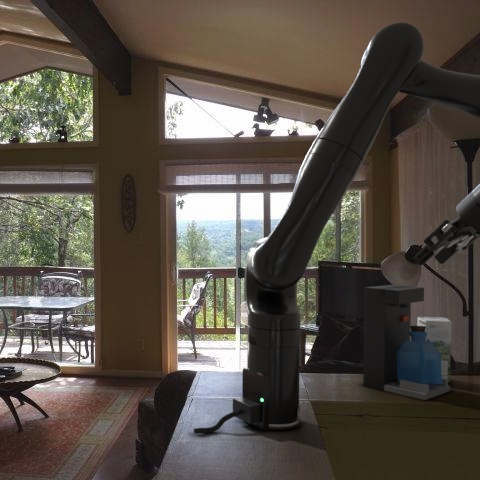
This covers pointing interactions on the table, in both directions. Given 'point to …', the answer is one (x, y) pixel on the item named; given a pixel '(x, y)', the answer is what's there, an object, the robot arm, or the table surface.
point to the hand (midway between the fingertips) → (427, 261)
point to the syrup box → (439, 339)
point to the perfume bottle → (419, 359)
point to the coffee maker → (391, 340)
